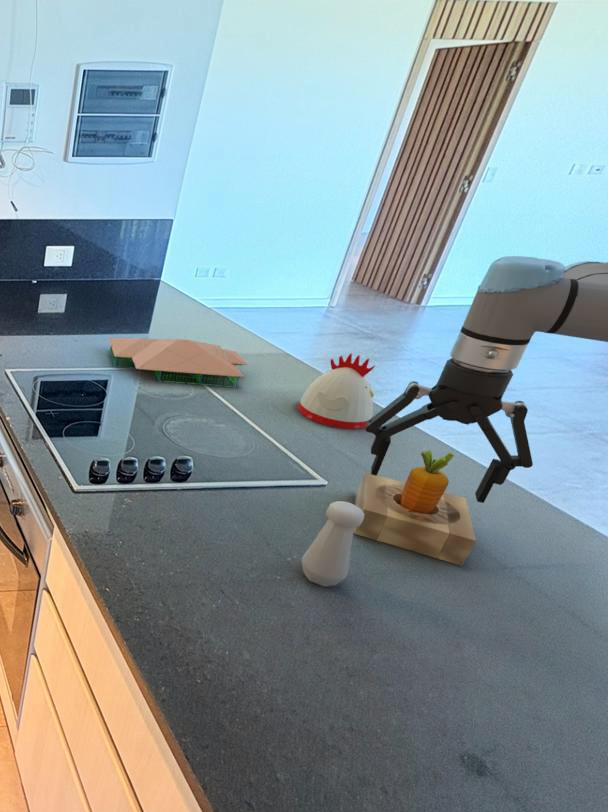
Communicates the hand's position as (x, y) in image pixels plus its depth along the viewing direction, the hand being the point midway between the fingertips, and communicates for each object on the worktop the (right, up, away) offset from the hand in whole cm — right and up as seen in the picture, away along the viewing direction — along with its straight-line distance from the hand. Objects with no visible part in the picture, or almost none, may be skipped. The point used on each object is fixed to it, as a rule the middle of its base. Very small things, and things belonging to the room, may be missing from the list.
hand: (424, 484), depth 100 cm
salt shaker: (-22, -13, -7) cm, 27 cm away
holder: (0, -8, +4) cm, 9 cm away
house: (-9, +24, +68) cm, 73 cm away
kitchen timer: (+16, +11, +42) cm, 46 cm away
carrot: (0, -8, +4) cm, 9 cm away
